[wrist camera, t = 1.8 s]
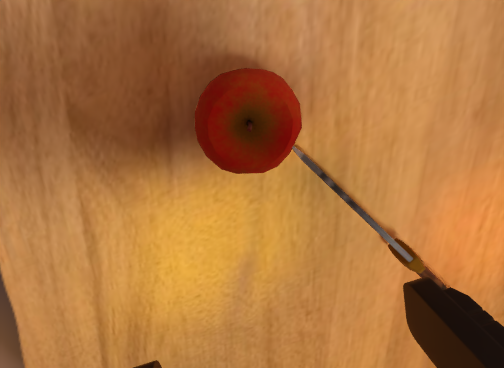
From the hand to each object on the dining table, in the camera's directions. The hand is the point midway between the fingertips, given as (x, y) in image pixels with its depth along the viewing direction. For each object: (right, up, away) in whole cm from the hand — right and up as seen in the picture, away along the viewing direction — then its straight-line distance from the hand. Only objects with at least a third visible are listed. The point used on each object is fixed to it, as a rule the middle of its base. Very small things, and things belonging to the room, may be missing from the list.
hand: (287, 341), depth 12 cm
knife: (+9, +2, +21) cm, 23 cm away
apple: (-2, +11, +15) cm, 19 cm away
